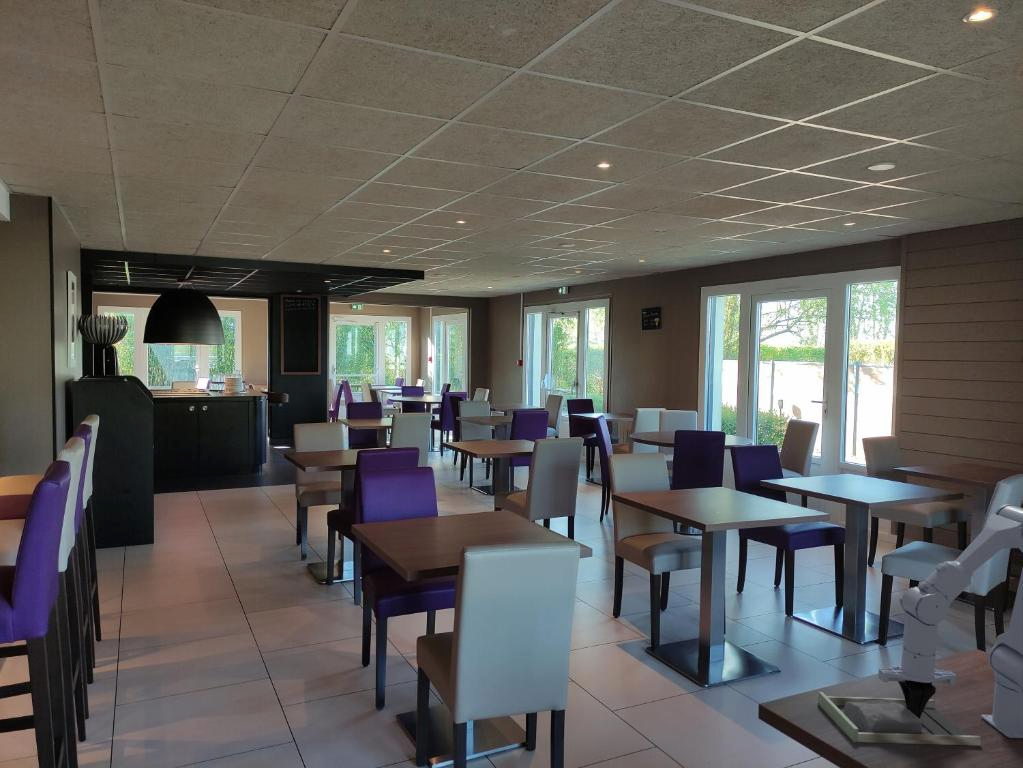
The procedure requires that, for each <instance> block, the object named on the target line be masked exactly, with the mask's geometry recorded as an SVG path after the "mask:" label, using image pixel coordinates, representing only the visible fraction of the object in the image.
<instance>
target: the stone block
mask: <svg viewBox="0 0 1023 768" xmlns="http://www.w3.org/2000/svg"><path fill="white" fill-rule="evenodd" d="M843 714H844V715H845V716H846V717H847V718H848V719H849V720H850V721H851V722H852V723H853V724H854V725H855V726H856V727H857V728H858V729H859V730H858V731H859V732H860V731H861V732H865V733H898V734H921V731H922V729H923V725H922V723H921V720H920V719H919V718H918V717H917V716H916V715H915V714H913V713H912V712H911V711H910V710H908V709H907V708H906V707H904V706H903V705H901V704H897V703H895V702H890V701H887V700H869V701H866V702H863V703H860V702H846V703H845V706H844V707H843Z"/></svg>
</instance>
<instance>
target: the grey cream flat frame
mask: <svg viewBox="0 0 1023 768" xmlns="http://www.w3.org/2000/svg"><path fill="white" fill-rule="evenodd" d="M826 696H827V695H826ZM827 697H828V698H829V699H830V700H831V701H832V702H833V703H834V704H835V705H836V706H844V707H845V703H846V702H860V703H863V702H866V701H869V700H887V701H890V702H895V703H897V704H901V705H903V706H904V707H907V706H906V701H905V698H894V697H893V698H892V697H863V696H861V697H860V696H832V695H831V696H830V695H829V696H827ZM935 703H936V700H935V699H929V701H928V702H927V704H926V705H925V707H924V708H935ZM981 741H982V737H981V736H980V735H968V736H965V735H951V734H950V735H933V734H932V733H931V734H929V733H927V734H925V733H918V734H898V733H865V732H862V731H861V732H860V731H858V742H857V743H875V744H876V743H879V744H883V743H884V744H912V745H913V744H915V745H949V746H952V745H953V746H981V743H982V742H981Z"/></svg>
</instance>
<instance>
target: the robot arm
mask: <svg viewBox="0 0 1023 768" xmlns="http://www.w3.org/2000/svg"><path fill="white" fill-rule="evenodd" d="M1003 549H1019V550H1020V551H1021V552H1022V553H1023V507H1019V506H1017V505H1015V504H1013V503H1012V504H1011V503H1007V504H1003V505H1001V506H1000V507H998V508H997V509H996V510H995V512H994V513H993V514H990V516H989V517H988V518H987V522H986V525H985V527H984V529H983V530H982V531H981V532H980V533H979V534H978V535H977V536H976V537H975V538H974V540H972V542H971V543H970V544H969V545H968V546H967V547H966V548H965V549H964V551H963V552H962V553H961V554H960V555H959V556H958V557H957V558H956V559H955V560H954V561H953V560H950V561H949V560H947V561H944V562H942V563H938V564H937V565H936V566H935V569H934V570H933V572H931V573H930V575H929V576H927V577H926V578H925V579H924V580H923V581H920V583H918V585H917V586H914V587H910V588H908V589H907V590H905V592H904V593H903V595H902V597H900V598H899V605H900V607H901V610H903V613H904V616H903V618H904V625H903V638H902V650H901V662H900V664H901V665H898V666H891V667H887V668H886V667H885V668H878V677H877V678H878V680H880V681H881V682H883V683H889V682H898V684H899V686H900V689H901V692H902V694H903V697H904V699H905V701H906V706H907V709H908V710H910V711H911V712H912V713H913V714H915V715H916V716H917V717H918V718H919V719H920V717H921V714H922V712H923V710H924V707H925V705H926V704H927V702H928V701H929V700H931V699H932V697H933V696H934V695H935V694H936V690H937V687H936V686H934V685H933V683H937V684H939V683H942V684H949V685H953V686H955V685H956V681H957V680H956V679H957V675H956V674H955V673H953V672H952V671H951V670H942V669H936V667H935V666H936V659H937V658H936V657H937V656H936V653H937V645H938V644H937V643H938V630H939V623H940V622H942V621H944V620H945V619H946V617H947V615H948V609H949V607H950V606H951V603H952V602H953V601H954V600H955V599H956V598H957V597H959V595H961V593H963V592H964V591H965V590H966V589H967V588H968V587H969V586H970V585H971V584H972V577H971V576H972V574H973V573H974V572H975V571H976V570H978V569H979V568H980V567H982V565H984V564H985V563H986V562H988V561H989V560H991V558H993V557H994V556H995V555H996V554H998V553H999V552H1000V551H1001V550H1003ZM1014 599H1015V600H1014V603H1013V608H1012V613H1011V618H1010V622H1009V625H1008V630H1007V631H1006V632H1004V633H1001V634H999V635H997V637H996V641H995V644H994V645H993V646H992V647H991V649H990V651H989V653H988V656H987V660H988V664H989V666H990V668H991V669H993V676H994V677H995V680H994V691H993V692H994V693H993V703H992V713H991V714H981V715H980V717H981V718H982V719H983V720H984V721H985V722H987V723H988V724H989V725H991V726H992V727H993V728H994V729H996V730H997V731H999V732H1000V733H1001V734H1003V735H1004V736H1005V737H1008V738H1009V739H1023V568H1022V569H1021V573H1020V578H1019V581H1018V588H1017V592H1016V596H1015V598H1014ZM923 713H924V712H923Z"/></svg>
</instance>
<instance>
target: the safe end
mask: <svg viewBox="0 0 1023 768" xmlns="http://www.w3.org/2000/svg"><path fill="white" fill-rule="evenodd" d="M817 695H818V697H817V704H818V706H819V707H820V708H822V710H823V711H824V712H825V713H826V714H827V715H828V716H829V717H830V719H832V720H833V722H834V723H835V724H836V725H837V726H838V727H839V728H840V730H842V731H843V732H844V734H845V735H847V737H848V738H849V739H850V740H851V741H852V742H853V743H859V742H858V732H859V731H860V730H859V729H858V728H857V727H856V726H855V725H854V724H853V723H852V722H851V721H850V720H849V719H848V718H847V717H846V716H845V715H844V711H841V710H840V708H839V707H838V705H835V704H834V703H833V702H832V701H831V700H830V699H829V698H828V697H827V695H826V694H825V693H824V692H823V691H818V694H817Z"/></svg>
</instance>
